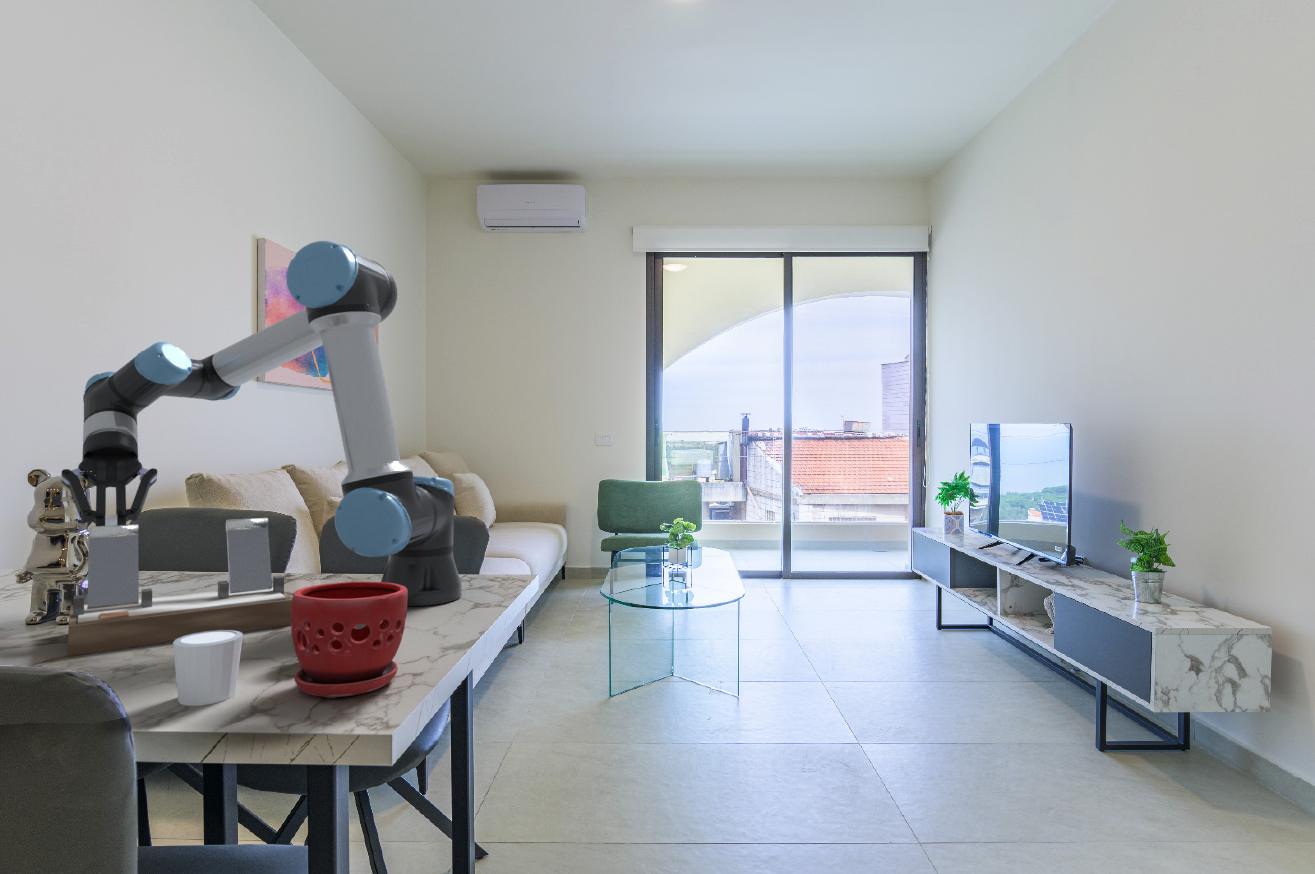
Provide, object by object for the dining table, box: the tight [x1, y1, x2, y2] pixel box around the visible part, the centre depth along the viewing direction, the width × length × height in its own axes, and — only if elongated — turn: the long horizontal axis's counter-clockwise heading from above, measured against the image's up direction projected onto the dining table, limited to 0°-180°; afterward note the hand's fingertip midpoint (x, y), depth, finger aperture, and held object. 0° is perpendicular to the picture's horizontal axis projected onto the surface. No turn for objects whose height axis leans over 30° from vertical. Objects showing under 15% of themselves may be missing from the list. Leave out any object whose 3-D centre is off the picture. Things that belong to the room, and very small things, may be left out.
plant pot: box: [290, 581, 408, 700], centre depth 86 cm, size 13×13×12 cm
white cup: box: [172, 630, 244, 707], centre depth 81 cm, size 7×7×7 cm
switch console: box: [67, 575, 293, 657], centre depth 109 cm, size 14×28×7 cm, turn 130°
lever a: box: [225, 517, 273, 594], centre depth 117 cm, size 2×6×12 cm, turn 130°
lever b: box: [86, 523, 140, 609], centre depth 106 cm, size 2×6×12 cm, turn 130°
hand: (111, 552), depth 108 cm, fingers closed
